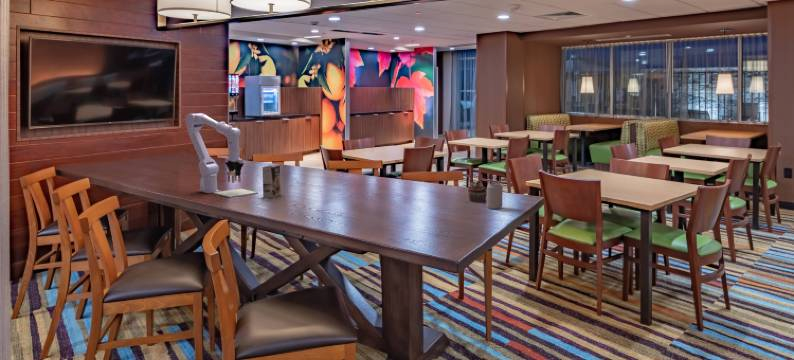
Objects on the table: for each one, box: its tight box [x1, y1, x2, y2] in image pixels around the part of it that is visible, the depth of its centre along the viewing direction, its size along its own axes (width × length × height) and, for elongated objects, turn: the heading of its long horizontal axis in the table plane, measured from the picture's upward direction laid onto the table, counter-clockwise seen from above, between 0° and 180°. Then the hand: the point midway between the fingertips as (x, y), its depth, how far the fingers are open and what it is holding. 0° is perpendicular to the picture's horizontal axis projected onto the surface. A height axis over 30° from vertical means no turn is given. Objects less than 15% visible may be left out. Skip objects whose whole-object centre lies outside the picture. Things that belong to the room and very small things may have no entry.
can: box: [485, 182, 504, 210], centre depth 268 cm, size 8×8×12 cm
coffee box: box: [262, 164, 281, 198], centre depth 297 cm, size 9×6×16 cm
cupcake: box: [467, 180, 487, 203], centre depth 286 cm, size 10×10×10 cm
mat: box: [213, 188, 259, 199], centre depth 306 cm, size 17×17×1 cm
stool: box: [226, 170, 242, 184], centre depth 304 cm, size 5×5×6 cm
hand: (234, 175), depth 304 cm, fingers closed on stool, 5 cm apart
